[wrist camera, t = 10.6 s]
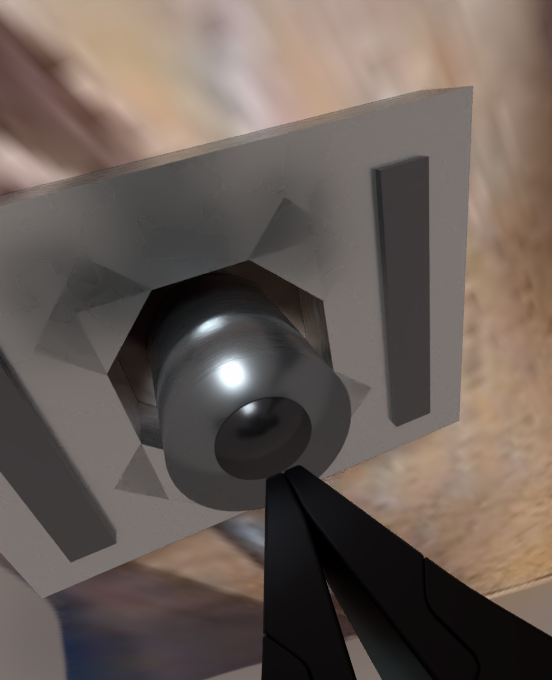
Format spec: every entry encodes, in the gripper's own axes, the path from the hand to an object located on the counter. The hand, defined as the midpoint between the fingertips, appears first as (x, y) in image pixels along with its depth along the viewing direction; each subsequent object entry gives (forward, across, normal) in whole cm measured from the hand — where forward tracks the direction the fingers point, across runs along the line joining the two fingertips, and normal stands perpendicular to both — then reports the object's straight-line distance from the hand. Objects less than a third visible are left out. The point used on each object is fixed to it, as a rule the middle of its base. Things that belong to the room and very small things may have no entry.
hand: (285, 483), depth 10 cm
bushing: (+8, 0, 0) cm, 8 cm away
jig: (+8, 0, 0) cm, 8 cm away
